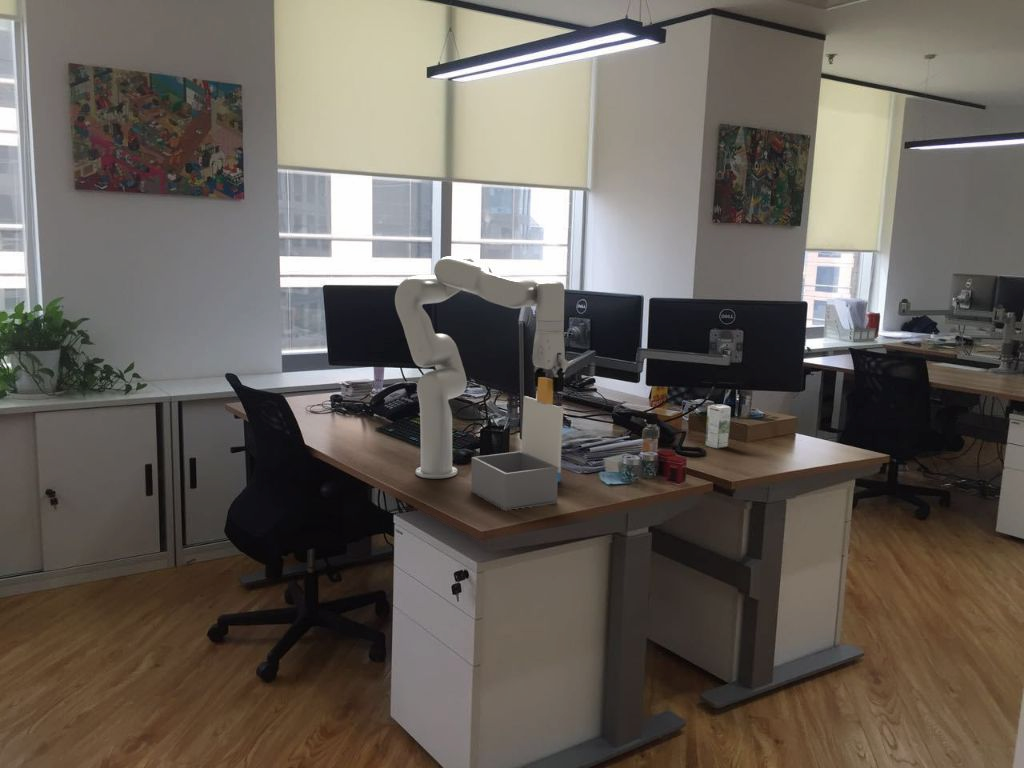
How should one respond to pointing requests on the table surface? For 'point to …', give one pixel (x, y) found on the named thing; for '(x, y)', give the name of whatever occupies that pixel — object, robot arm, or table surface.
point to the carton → (514, 480)
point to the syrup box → (718, 426)
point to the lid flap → (542, 424)
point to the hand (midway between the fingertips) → (548, 388)
